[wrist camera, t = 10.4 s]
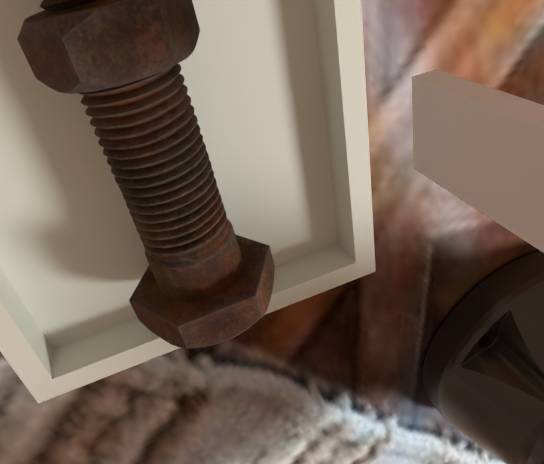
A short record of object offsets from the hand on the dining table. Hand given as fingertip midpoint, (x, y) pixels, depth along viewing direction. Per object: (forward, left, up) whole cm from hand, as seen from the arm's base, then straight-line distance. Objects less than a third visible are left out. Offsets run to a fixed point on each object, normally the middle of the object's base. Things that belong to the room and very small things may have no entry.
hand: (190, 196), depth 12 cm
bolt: (0, 0, -7) cm, 7 cm away
